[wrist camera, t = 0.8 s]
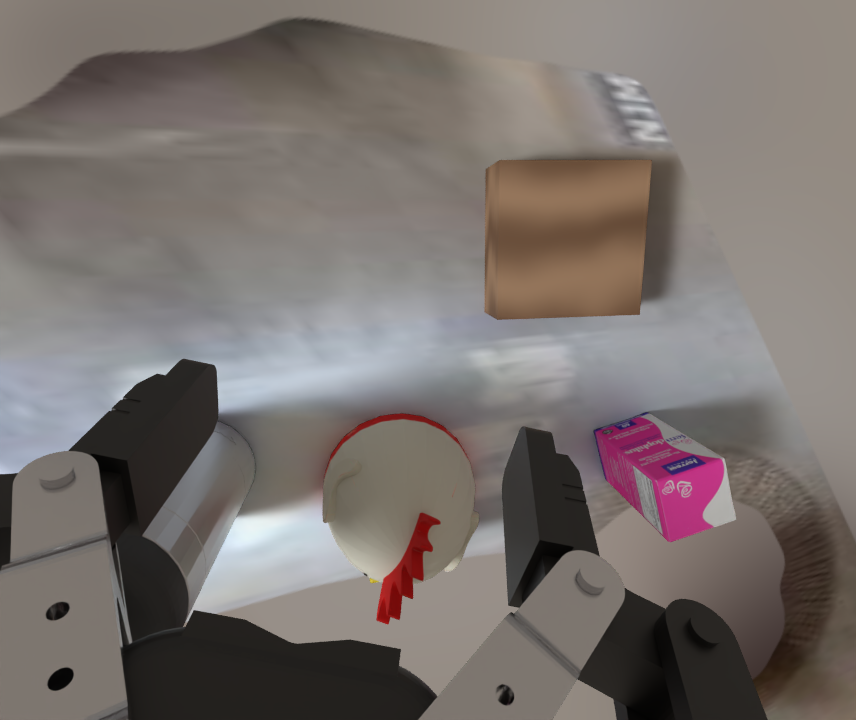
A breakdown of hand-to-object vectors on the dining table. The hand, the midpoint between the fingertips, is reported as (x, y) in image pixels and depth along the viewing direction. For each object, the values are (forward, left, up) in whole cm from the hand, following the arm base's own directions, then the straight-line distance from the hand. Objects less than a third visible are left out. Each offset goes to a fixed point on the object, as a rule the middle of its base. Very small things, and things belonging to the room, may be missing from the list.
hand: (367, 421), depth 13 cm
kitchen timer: (-15, -10, -31) cm, 36 cm away
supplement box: (-3, -29, -31) cm, 42 cm away
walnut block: (+11, -13, -31) cm, 36 cm away
